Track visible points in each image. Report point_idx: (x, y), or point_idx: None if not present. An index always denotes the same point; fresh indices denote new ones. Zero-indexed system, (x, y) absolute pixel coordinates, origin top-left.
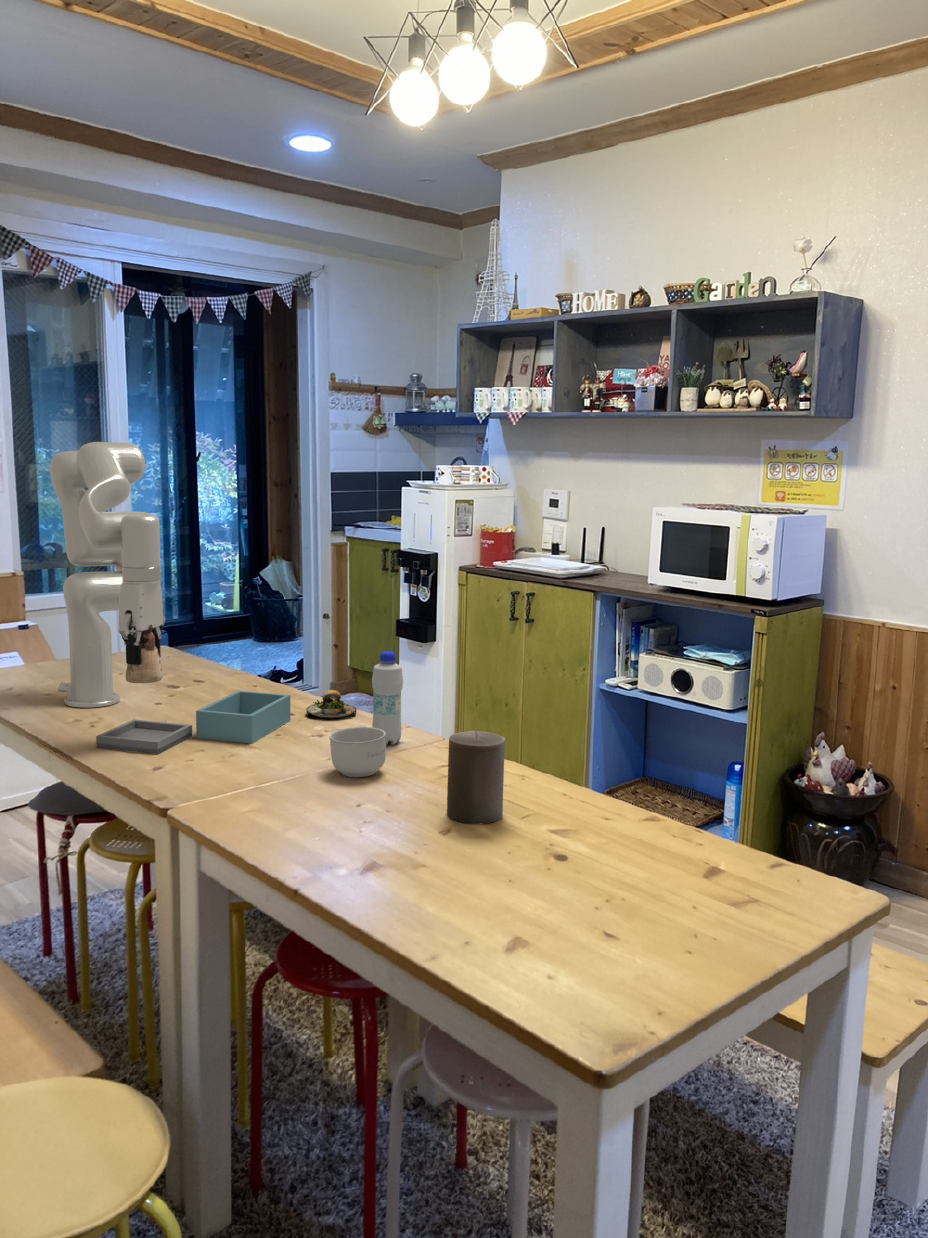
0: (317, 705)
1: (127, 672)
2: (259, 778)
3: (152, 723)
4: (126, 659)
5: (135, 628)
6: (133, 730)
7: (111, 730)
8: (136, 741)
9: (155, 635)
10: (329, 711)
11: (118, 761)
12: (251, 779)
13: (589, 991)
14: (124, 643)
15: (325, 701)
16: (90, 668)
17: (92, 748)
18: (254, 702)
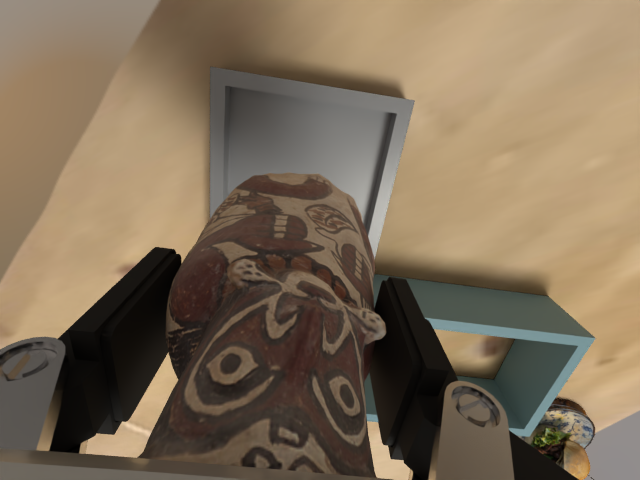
0: (545, 433)
1: (216, 210)
2: (154, 416)
3: (383, 170)
4: (145, 259)
5: None
6: (362, 119)
7: (279, 86)
8: (211, 197)
9: (418, 471)
10: (526, 440)
11: (141, 178)
12: (145, 409)
13: None
14: (4, 352)
15: (558, 447)
16: None
17: (214, 58)
18: (542, 356)
